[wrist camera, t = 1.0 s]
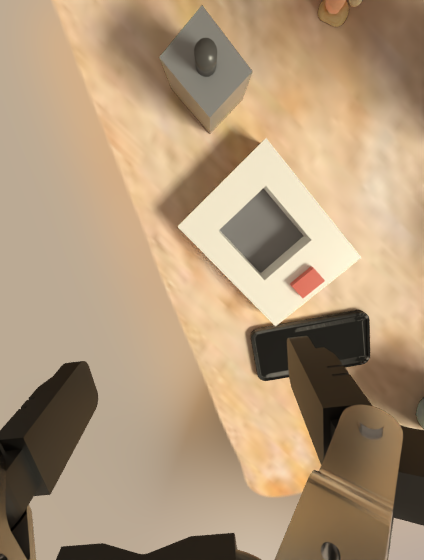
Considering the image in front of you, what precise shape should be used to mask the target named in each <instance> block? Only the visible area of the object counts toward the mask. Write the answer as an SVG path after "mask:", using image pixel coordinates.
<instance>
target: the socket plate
mask: <svg viewBox="0 0 424 560" xmlns="http://www.w3.org/2000/svg"><path fill="white" fill-rule="evenodd" d="M177 227H178V228H179V229H180V230H181V231H182V232H183V233H184V234H185V235H186V236H187V237H188V238H189V239H190V240H191V241H192V242H193V243H194V244H195V245H196V246H197V247H198V248H199V249H200V250H201V251H202V252H203V253H204V254H205V255H206V256H207V257H208V258H209V259H210V260H211V261H212V262H213V263H214V264H215V265H216V266H217V267H218V268H219V270H220V271H221V272H222V273H223V274H224V275H225V276H226V277H227V278H228V279H229V280H230V281H231V282H232V283H233V284H234V285H235V286H236V287H237V288H238V289H239V290H240V291H241V292H242V293H243V294H244V295H245V296H246V297H247V298H248V299H249V300H250V301H251V302H252V303H253V304H254V305H255V306H256V307H257V308H258V309H259V310H260V311H261V312H262V313H263V314H264V315H265V316H266V317H267V318H268V319H269V320H270V321H271V322H272V323H273V324H274V325H275V326H277V325H278V324H279V323H280V322H282V321H283V320H284V319H285V318H287V317H288V316H289V315H290V314H292V313H293V312H294V311H295V310H297V309H298V308H299V307H300V306H302V305H303V304H304V303H305V302H307V301H308V300H309V299H310V298H312V297H313V296H314V295H315V294H317V293H318V292H319V291H320V290H322V289H323V288H324V287H325V286H327V285H328V284H329V283H330V282H332V281H333V280H334V279H335V278H337V277H338V276H339V275H340V274H342V273H343V272H344V271H345V270H347V269H348V268H349V267H350V266H352V265H353V264H354V263H355V262H357V261H358V260H359V259H360V258H361V256H360V255H359V254H358V253H357V251H356V250H355V249H354V248H353V246H352V245H351V244H350V243H349V241H348V240H347V239H346V237H345V236H344V235H343V234H342V232H341V231H340V230H339V229H338V227H337V226H336V225H335V224H334V222H333V221H332V220H331V219H330V217H329V216H328V215H327V214H326V212H325V211H324V210H323V209H322V207H321V206H320V205H319V204H318V202H317V201H316V200H315V199H314V197H313V196H312V195H311V194H310V192H309V191H308V190H307V189H306V187H305V186H304V185H303V184H302V182H301V181H300V180H299V179H298V177H297V176H296V175H295V174H294V172H293V171H292V170H291V169H290V167H289V166H288V165H287V164H286V162H285V161H284V160H283V159H282V157H281V156H280V155H279V154H278V152H277V151H276V150H275V149H274V147H273V146H272V145H271V143H270V142H269V141H268V140H267V138H266V139H264V140H263V141H262V142H261V143H260V144H259V145H258V146H257V147H256V148H255V149H254V150H253V151H252V152H251V153H250V154H249V155H248V156H247V157H246V158H245V159H244V160H243V161H242V162H241V163H240V164H239V165H238V166H237V167H236V168H235V169H234V170H233V171H232V172H231V173H230V174H229V175H228V176H227V177H226V178H225V179H224V180H223V181H222V182H221V183H220V184H219V185H218V186H217V187H216V188H215V189H214V190H213V191H212V192H211V193H210V194H209V195H208V196H207V197H206V198H205V199H204V200H203V201H202V202H201V203H200V204H199V205H198V206H197V207H196V208H195V209H194V210H193V211H192V212H191V213H190V214H189V215H188V216H187V217H186V218H185V219H184V220H183V221H182V222H181V223H180V224H179V225H178V226H177Z"/></svg>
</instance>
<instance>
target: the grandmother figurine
mask: <svg viewBox="0 0 424 560" xmlns="http://www.w3.org/2000/svg"><path fill="white" fill-rule="evenodd" d="M361 2H362V0H349V4H350V5H351V6H352V7H356V6H358V5H359V4H361ZM348 11H349V7H348V3H347V1H346V0H323V1H322V2H321V4H320V6H319V9H318V16H319V18H320V20H322V21H324V22H326V23H328V24H330V25H332V26H334V27H338V26H341V25H342V24H343V23H344V22H345V20H346V18H347V15H348Z"/></svg>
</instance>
